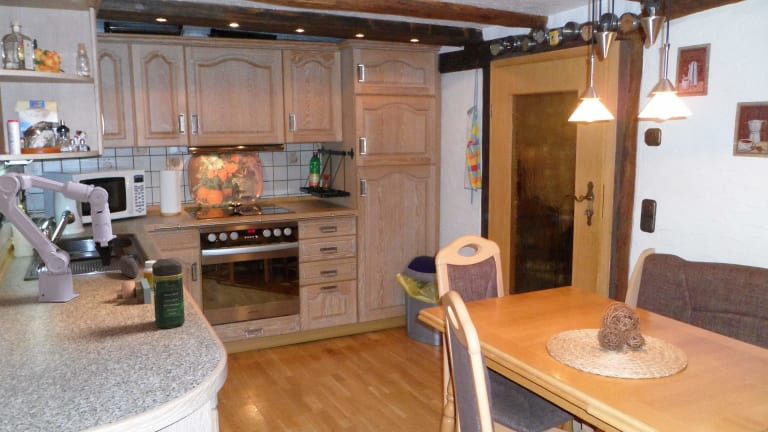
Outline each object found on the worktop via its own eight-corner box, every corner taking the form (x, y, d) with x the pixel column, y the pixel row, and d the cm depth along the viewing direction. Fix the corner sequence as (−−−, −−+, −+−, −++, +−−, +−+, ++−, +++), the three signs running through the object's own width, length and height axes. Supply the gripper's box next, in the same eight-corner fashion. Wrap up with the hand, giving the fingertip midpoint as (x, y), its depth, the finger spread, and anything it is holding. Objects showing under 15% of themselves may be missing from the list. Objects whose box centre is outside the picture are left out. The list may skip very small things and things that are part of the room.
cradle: (118, 305, 192) (117, 291, 191) (117, 298, 200) (116, 284, 200) (143, 302, 195) (142, 288, 195) (141, 295, 204) (140, 281, 203)
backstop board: (144, 304, 193) (143, 288, 193) (141, 293, 206) (140, 279, 205) (151, 303, 194) (150, 288, 193) (147, 292, 207) (146, 278, 206)
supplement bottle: (155, 291, 208) (153, 263, 207) (141, 290, 209) (139, 263, 208) (164, 287, 213) (162, 260, 212) (150, 286, 214) (148, 259, 213)
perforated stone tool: (142, 279, 226) (141, 260, 224) (127, 281, 223) (126, 262, 222) (132, 271, 238) (131, 254, 237) (118, 273, 235) (117, 255, 234)
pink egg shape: (120, 302, 196) (119, 284, 195) (125, 298, 200) (124, 280, 199) (133, 302, 196) (131, 283, 195) (137, 298, 200) (136, 280, 199)
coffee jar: (187, 326, 171) (183, 261, 169) (157, 330, 168) (153, 265, 165) (182, 316, 180) (178, 255, 177) (154, 320, 177) (149, 258, 174)
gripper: (115, 225, 197) (120, 266, 199) (113, 219, 210) (118, 257, 212) (91, 228, 194) (96, 269, 196) (91, 221, 207) (96, 260, 209)
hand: (106, 263), depth 204 cm, fingers open, 6 cm apart
